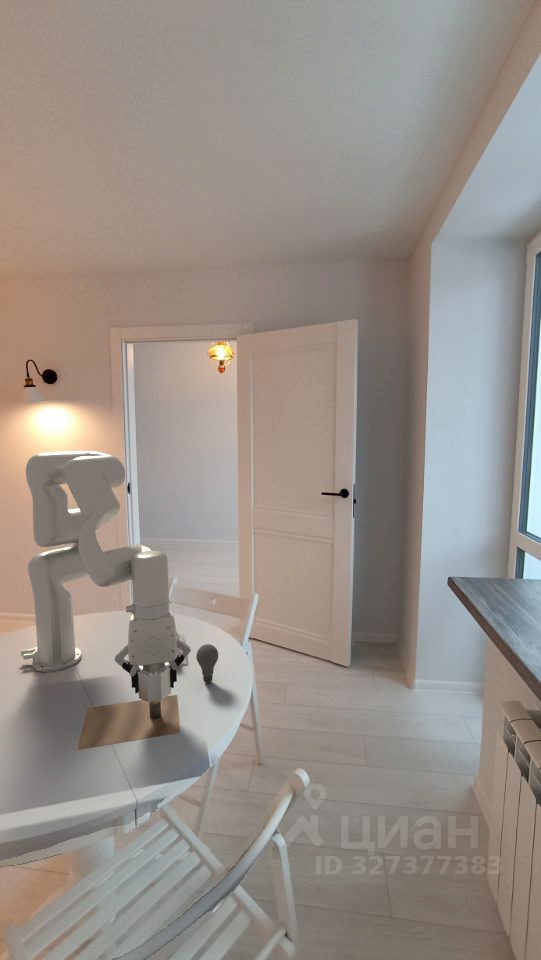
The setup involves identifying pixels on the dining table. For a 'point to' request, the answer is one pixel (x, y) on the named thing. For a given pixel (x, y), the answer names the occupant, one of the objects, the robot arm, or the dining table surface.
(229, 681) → the dining table surface
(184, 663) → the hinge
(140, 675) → the white hollow octagonal cylinder
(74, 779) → the dining table surface
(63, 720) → the dining table surface
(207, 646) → the light bulb
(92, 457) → the robot arm
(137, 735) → the keeper base
